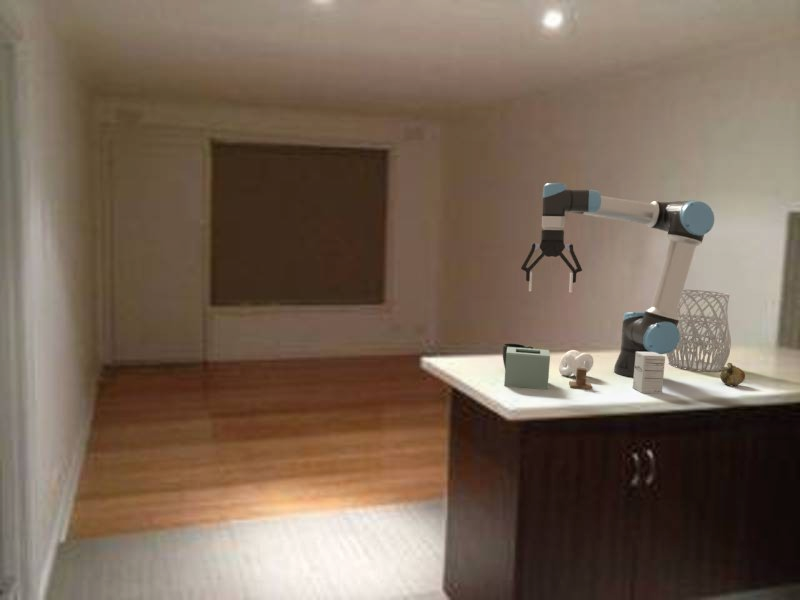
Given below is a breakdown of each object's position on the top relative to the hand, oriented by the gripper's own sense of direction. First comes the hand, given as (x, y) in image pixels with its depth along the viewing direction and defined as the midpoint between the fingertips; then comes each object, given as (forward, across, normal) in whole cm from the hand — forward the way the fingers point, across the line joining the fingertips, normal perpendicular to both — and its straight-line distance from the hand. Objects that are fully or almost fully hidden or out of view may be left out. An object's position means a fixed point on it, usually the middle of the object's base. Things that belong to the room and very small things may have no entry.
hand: (550, 291), depth 256 cm
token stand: (+31, -11, +8) cm, 33 cm away
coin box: (+30, +8, +10) cm, 33 cm away
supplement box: (+32, -32, +6) cm, 46 cm away
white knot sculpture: (+31, -10, -8) cm, 34 cm away
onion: (+33, -65, -15) cm, 75 cm away
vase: (+33, -61, -49) cm, 85 cm away
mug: (+30, +10, -11) cm, 34 cm away
